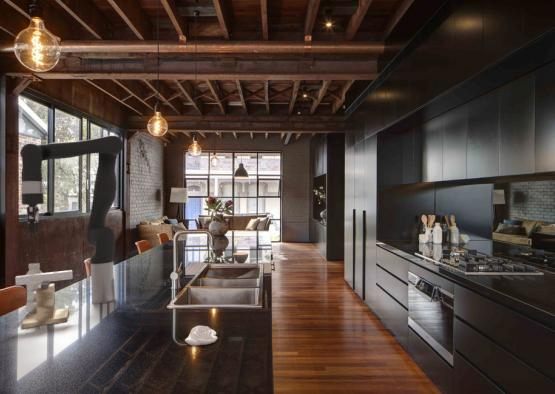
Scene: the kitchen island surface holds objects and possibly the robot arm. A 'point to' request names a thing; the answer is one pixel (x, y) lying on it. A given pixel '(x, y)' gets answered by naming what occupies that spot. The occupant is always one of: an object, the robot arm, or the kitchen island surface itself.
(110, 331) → the kitchen island surface
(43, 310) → the balance stand
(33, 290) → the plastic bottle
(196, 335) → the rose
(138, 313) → the kitchen island surface
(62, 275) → the aluminium bar
